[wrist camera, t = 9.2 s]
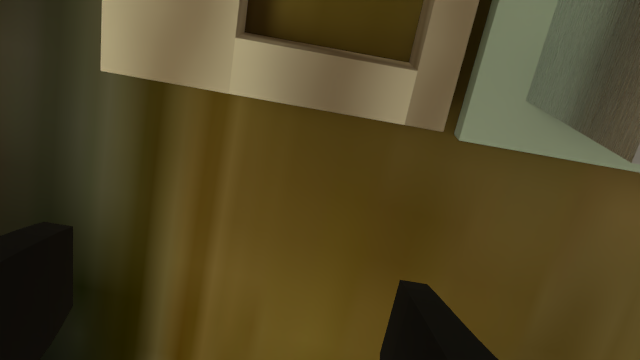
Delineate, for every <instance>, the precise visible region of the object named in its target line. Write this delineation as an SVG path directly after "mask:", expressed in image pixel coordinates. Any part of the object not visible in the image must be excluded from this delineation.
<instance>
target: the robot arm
mask: <svg viewBox="0 0 640 360" xmlns="http://www.w3.org/2000/svg"><path fill="white" fill-rule="evenodd" d="M72 306H73V226H66V225H60V224H54V223H48V222H42V223H38V224H34V225H31V226H28V227H25V228H22V229H19V230H16V231H13V232H10V233H8V234H5V235H2V236H0V360H39V359H40V358H41V357H42V356H43V354H44V353H45V352H46V350H47V349H48V347H49V346H50V345H51V343H52V341H53V340H54V338H55V336H56V335H57V333H58V331H59V330H60V328H61V326H62V324H63V323H64V321H65V319H66V317H67V315H68V314H69V312H70V310H71V308H72ZM380 360H498V359H497V358H496V357H495V356H494V355H493V354H492V353H491V352H490V351H489V350H488V349H487V348H486V347H485V346H484V345H483V344H482V343H481V342H480V341H479V340H478V339H477V338H476V337H475V335H474V334H473V333H472V332H471V331H470V330H469V329H468V328H467V327H466V326H465V325H464V324H463V323H462V321H461V320H460V319H459V318H458V317H457V316H456V315H455V314H454V313H453V312H452V310H451V309H450V308H449V307H448V306H447V305H446V304H445V303H444V302H443V300H442V299H441V298H440V297H439V296H438V295H437V294H436V293H435V292H434V291H433V290H432V289H431V288H430V287H429V286H428V285H427V284H422V283H416V282H410V281H404V280H400V282H399V286H398V289H397V293H396V297H395V300H394V304H393V308H392V311H391V315H390V319H389V322H388V326H387V330H386V333H385V337H384V341H383V344H382V348H381V352H380Z"/></svg>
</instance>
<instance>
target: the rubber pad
mask: <svg viewBox="0 0 640 360" xmlns="http://www.w3.org/2000/svg"><path fill="white" fill-rule="evenodd" d="M557 2H558V0H492V2H491V6H490V9H489V13H488V16H487V20H486V23H485V27H484V30H483V34H482V37H481V41H480V45H479V48H478V52H477V55H476V59H475V62H474V66H473V69H472V73H471V76H470V80H469V83H468V87H467V90H466V94H465V97H464V101H463V105H462V108H461V112H460V115H459V119H458V122H457V126H456V129H455V133H454V135H455V136H456V138H457V139H458V140H460V141H465V142H471V143H476V144H482V145H488V146H493V147H499V148H505V149H510V150H516V151H521V152H527V153H533V154H538V155H544V156H550V157H555V158H561V159H566V160H572V161H578V162H583V163H589V164H595V165H600V166H606V167H611V168H617V169H623V170H628V171H634V172H640V165H639V164H633V163H630V162H629V161H627V160H625V159H624V158H622V157H620V156H618V155H617V154H615V153H613V152H612V151H610V150H608V149H607V148H605V147H603V146H602V145H600V144H598V143H597V142H595V141H593V140H592V139H590V138H588V137H587V136H585V135H583V134H582V133H580V132H578V131H577V130H575V129H573V128H572V127H570V126H568V125H567V124H565V123H563V122H561V121H560V120H558V119H556V118H555V117H553V116H551V115H550V114H548V113H546V112H545V111H543V110H541V109H540V108H538V107H536V106H535V105H533V104H531V103H530V102H528V101H526V98H527V95H528V92H529V89H530V86H531V82H532V79H533V76H534V73H535V70H536V67H537V64H538V61H539V58H540V55H541V52H542V48H543V45H544V42H545V39H546V36H547V33H548V30H549V27H550V24H551V21H552V18H553V14H554V11H555V8H556V5H557Z"/></svg>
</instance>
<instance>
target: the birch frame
mask: <svg viewBox="0 0 640 360" xmlns="http://www.w3.org/2000/svg"><path fill="white" fill-rule="evenodd" d="M478 4H479V0H424V1H423V5H422V9H421V14H420V18H419V22H418V26H417V30H416V35H415V39H414V43H413V47H412V52H411V56H410V60H409V62H403V61H398V60H393V59H387V58H382V57H376V56H371V55H366V54H360V53H355V52H349V51H344V50H338V49H333V48H328V47H322V46H317V45H311V44H306V43H300V42H295V41H290V40H284V39H279V38H273V37H268V36H263V35H257V34H252V33H246V32H245V24H246V15H247V7H248V0H102V26H101V71H104V72H110V73H116V74H121V75H127V76H132V77H138V78H144V79H149V80H155V81H160V82H166V83H172V84H177V85H183V86H189V87H194V88H200V89H205V90H211V91H217V92H222V93H228V94H233V95H239V96H245V97H250V98H256V99H261V100H267V101H273V102H278V103H284V104H290V105H295V106H301V107H306V108H312V109H318V110H323V111H329V112H334V113H340V114H346V115H351V116H357V117H362V118H368V119H374V120H379V121H385V122H390V123H396V124H402V125H407V126H413V127H419V128H424V129H430V130H435V131H441V132H443V131H444V127H445V124H446V120H447V116H448V113H449V109H450V105H451V102H452V98H453V95H454V91H455V87H456V84H457V80H458V76H459V73H460V69H461V65H462V62H463V58H464V55H465V51H466V47H467V44H468V40H469V36H470V33H471V29H472V25H473V22H474V18H475V15H476V11H477V7H478Z"/></svg>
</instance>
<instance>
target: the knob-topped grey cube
mask: <svg viewBox="0 0 640 360" xmlns="http://www.w3.org/2000/svg"><path fill="white" fill-rule="evenodd" d="M526 101H528V102H530V103H531V104H533V105H535V106H536V107H538V108H540V109H541V110H543V111H545V112H546V113H548V114H550V115H551V116H553V117H555V118H556V119H558V120H560V121H561V122H563V123H565V124H567V125H568V126H570V127H572V128H573V129H575V130H577V131H578V132H580V133H582V134H583V135H585V136H587V137H588V138H590V139H592V140H593V141H595V142H597V143H598V144H600V145H602V146H603V147H605V148H607V149H608V150H610V151H612V152H613V153H615V154H617V155H618V156H620V157H622V158H624V159H625V160H627V161H629V162H630V163H633V164H639V165H640V0H558V2H557V5H556V8H555V11H554V14H553V18H552V21H551V24H550V27H549V30H548V33H547V36H546V39H545V42H544V45H543V48H542V52H541V55H540V58H539V61H538V64H537V67H536V70H535V73H534V76H533V79H532V82H531V86H530V89H529V92H528V95H527V98H526Z"/></svg>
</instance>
